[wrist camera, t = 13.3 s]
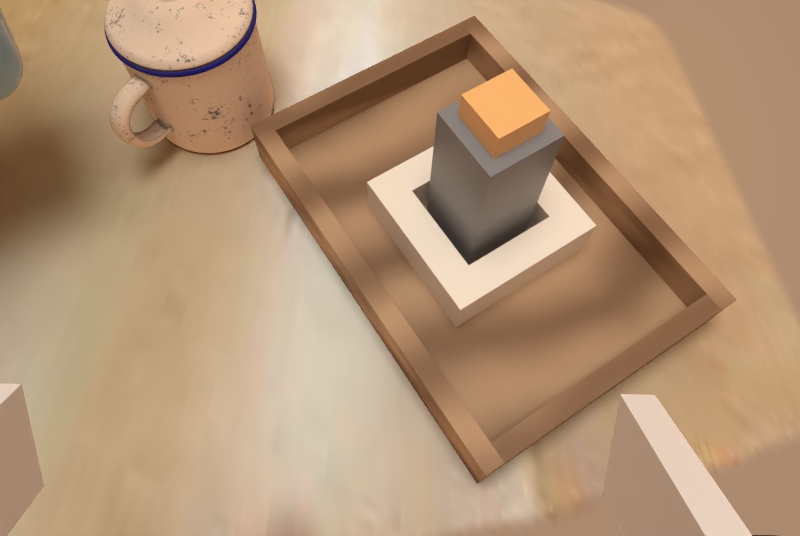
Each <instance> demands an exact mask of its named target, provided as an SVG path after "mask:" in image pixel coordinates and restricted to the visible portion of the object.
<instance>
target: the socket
mask: <svg viewBox="0 0 800 536" xmlns="http://www.w3.org/2000/svg"><path fill="white" fill-rule="evenodd" d="M433 147H434V146H433ZM433 147H431V148H429V149H427V150H425V151H424V152H422V153H420V154H418V155H416V156H414V157H412V158H411V159H409V160H407V161H405V162H403V163H401V164H400V165H398V166H396V167H394V168H392V169H390V170H388V171H387V172H385V173H383V174H381V175H379V176H377V177H375V178H374V179H372V180H370V181H368V182H367V190H368V206H369V208H370V209H371V211H372V212H373V213H374V215H375V216H376V218H377V219H378V220H379V222H380V223H381V224H382V226H383V227H384V229H385V230H386V231H387V233H388V234H389V236H390V237H391V238H392V240H393V241H394V243H395V244H396V245H397V247H398V248H399V250H400V251H401V252H402V254H403V255H404V256H405V258H406V259H407V261H408V262H409V263H410V265H411V266H412V268H413V269H414V270H415V272H416V273H417V275H418V276H419V277H420V279H421V280H422V282H423V283H424V284H425V286H426V287H427V288H428V290H429V291H430V293H431V294H432V295H433V297H434V298H435V300H436V301H437V302H438V304H439V305H440V307H441V308H442V309H443V311H444V312H445V314H446V315H447V316H448V318H449V319H450V320H451V322H452V323H453V325H454V326H455V327H457V326H459V325H460V324H462V323H464V322H465V321H467V320H468V319H470V318H472V317H473V316H475V315H476V314H478V313H480V312H481V311H483V310H484V309H486V308H488V307H489V306H491V305H492V304H494V303H495V302H497V301H499V300H500V299H502V298H503V297H505V296H507V295H508V294H510V293H511V292H513V291H515V290H516V289H518V288H519V287H521V286H523V285H524V284H526V283H527V282H529V281H531V280H532V279H534V278H535V277H537V276H539V275H540V274H542V273H543V272H545V271H547V270H548V269H550V268H551V267H553V266H555V265H556V264H558V263H559V262H561V261H562V260H564V259H566V258H567V257H569V256H570V255H572V254H574V253H575V252H577V251H578V250H580V249H582V248H583V247H584V245H585V243H586V242H587V240H588V239H589V237H590V235H591V234H592V232H593V231H594V229H595V227H596V224H595V223H594V222H593V221H592V220H591V219H590V218H589V216H588V215H587V214H586V213H585V212H584V211H583V210H582V208H581V207H580V206H579V205H578V204H577V203H576V201H575V200H574V199H573V198H572V197H571V196H570V195H569V193H568V192H567V191H566V190H565V189H564V188H563V187H562V185H561V184H560V183H559V182H558V181H557V180H556V179H555V177H554V176H553V175H552V174H551V173H550V172H549V175H548V177H547V180H546V182H545V185H544V187H543V189H542V192H541V194H540V197H539V199H538V202H537V204H536V207H535V209H534V211H533V214H532V216H531V219H530V221H529V224H528V226H529V228H530V229H528V230H527V231H525V232H523V233H522V234H520V235H518V236H517V237H515V238H513V239H512V240H510V241H508V242H507V243H505V244H503V245H502V246H500V247H499V248H497V249H495V250H494V251H492V252H490V253H489V254H487V255H485V256H484V257H482V258H480V259H479V260H477V261H475V262H474V263H472V264H470V265H468V264H467V263H466V261H465V260H464V259H463V257H462V256H461V255H460V253H459V252H458V251H457V249H456V248H455V247H454V245H453V244H452V243H451V241H450V240H449V239H448V238H447V236H446V235H445V234H444V232H443V231H442V230H441V228H440V227H439V226H438V224H437V223H436V222H435V220H434V219H433V218H432V216H431V215H430V214H429V212H428V211H427V210H426V209H425V206H427V205H428V196H429V186H430V176H431V167H432V157H433Z"/></svg>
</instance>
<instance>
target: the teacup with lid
mask: <svg viewBox="0 0 800 536" xmlns="http://www.w3.org/2000/svg"><path fill="white" fill-rule="evenodd" d="M104 25H105V35H106V39H107V42H108V44H109V46H110V48H111V49H112V51H113V52H114V54H115V55H116V56H117V57H118V58H119V59H120V60H121V61H122V62H123V63H124V65H125V67H126V69H127V71H128V72H129V74H130V76H131V78H132V79H131V80H130V81H129V82H127V83H126V84H125V85H124V86H123V88H122V89H121V90H120V91H119V92H118V94H117V95H116V97H115V99H114V101H113V103H112V107H111V111H110V123H111V126H112V128H113V130H114V132H115V133H116V135H117V136H118V137H119V138H121V139H122V140H123V141H125V142H127V143H128V144H130V145H133V146H136V147H150V146H153V145H155V144H157V143H158V142H160V141H161V140H163V139H164V138H165V137H166V138H167V139H168V140H170V141H171V142H172V143H174V144H175V145H177V146H179V147H181V148H183V149H186V150H189V151H193V152H198V153H218V152H224V151H228V150H231V149H234V148H237V147H239V146H241V145H243V144H245V143H247V142H248V141H250V140H251V139H253V138H254V136H253V132H252V129H251V125H253V124H255V123H257V122H259V121H261V120H263V119H265V118H268V117H270V116H271V114H272V111H273V107H274V93H273V88H272V84H271V80H270V76H269V72H268V69H267V65H266V61H265V57H264V53H263V49H262V45H261V41H260V37H259V33H258V29H257V25H256V5H255V1H254V0H109V2H108V4H107V7H106V11H105V17H104ZM141 98H143V100H144V102H145V104H146V106H147V108H148V109H149V111H150V113H151V115H152V117H153V119H154V120H155V122H154V123H153V124H152V125H150V126H149V127H148V128H147V129H145V130H143V131H141V132H137V133H133V132H132V130H131V127H130V117H131V113H132V111H133V109H134V107H135V105H136V104H137V102H138V101H139V100H140V99H141Z"/></svg>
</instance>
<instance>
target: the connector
mask: <svg viewBox="0 0 800 536" xmlns="http://www.w3.org/2000/svg"><path fill="white" fill-rule="evenodd" d="M549 114H550V110H549V108H548V107H547V106H546V105H545V104H544V103H543V102H542V101H541V100H540V99H539V97H538V96H537V95H536V94H535V93H534V92H533V91H532V90H531V89H530V88H529V86H528V85H527V84H526V83H525V82H524V81H523V80H522V79H521V78H520V77H519V75H518V74H517V73H516V72H515V71H514V70H513V69H510V70H508V71H506V72H504V73H502V74H500V75H498V76H496V77H494V78H492V79H491V80H489V81H487V82H485V83H483V84H481V85H479V86H477V87H475V88H473V89H471V90H469V91H467V92H465V93H464V94H462V95H461V100H459V101H457V102H456V103H454V104H452V105H450V106H448V107H446V108H444V109H442V110H440V111H438V112H437V118H436V128H435V138H434V147H433V157H432V167H431V176H430V186H429V196H428V206H427V211H428V212H429V214H430V215H431V216H432V218H433V219H434V220H435V222H436V223H437V224H438V226H439V227H440V228H441V230H442V231H443V232H444V234H445V235H446V236H447V238H448V239H449V240H450V241H451V243H452V244H453V245H454V247H455V248H456V249H457V251H458V252H459V253H460V255H461V256H462V257H463V259H464V260H465V261H466V263H467V264H468V265H470V264H472V263H474V262H475V261H477V260H479V259H480V258H482V257H484V256H485V255H487V254H489V253H490V252H492V251H494V250H495V249H497V248H499V247H500V246H502V245H503V244H505V243H507V242H508V241H510V240H512V239H513V238H515V237H517V236H518V235H520V234H522V233H523V232H525V231H526V228H527V226H528V224H529V221H530V219H531V216H532V214H533V211H534V209H535V207H536V204H537V202H538V199H539V197H540V194H541V192H542V189H543V187H544V185H545V182H546V180H547V177H548V175H549V172H550V170H551V168H552V165H553V163H554V160H555V158H556V155H557V153H558V150H559V148H560V146H561V143H562V141H563V138H564V136H565V135H564V134H563V133H562V132H561V131H560V130H559V129H558V127H557V126H556V125H555V124H554V123H553V122H552V121H551V120H550V119H549V117H548V116H549Z"/></svg>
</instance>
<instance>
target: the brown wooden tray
mask: <svg viewBox="0 0 800 536" xmlns="http://www.w3.org/2000/svg"><path fill="white" fill-rule="evenodd" d="M510 69H513V70H514V71H515V72H516V73H517V74H518V75H519V77H520V78H521V79H522V80H523V81H524V82H525V83H526V84H527V85H528V86H529V88H530V89H531V90H532V91H533V92H534V93H535V94H536V95H537V96H538V97H539V99H540V100H541V101H542V102H543V103H544V104H545V105H546V106H547V107H548V108H549V110H550V114H549V116H548V117H549V119H550V120H551V121H552V122H553V123H554V124H555V125H556V126H557V127H558V129H559V130H560V131H561V132H562V133H563V134H564V135H565V136H564V138H563V141H562V143H561V146H560V148H559V150H558V153H557V155H556V158H555V160H554V163H553V165H552V168H551V170H550V173H551V174H552V175H553V176H554V177H555V179H556V180H557V181H558V182H559V183H560V184H561V185H562V187H563V188H564V189H565V190H566V191H567V192H568V193H569V195H570V196H571V197H572V198H573V199H574V200H575V201H576V203H577V204H578V205H579V206H580V207H581V208H582V210H583V211H584V212H585V213H586V214H587V215H588V216H589V218H590V219H591V220H592V221H593V222H594V223H595V224H596V227H595V229H594V231H593V232H592V234H591V235H590V237H589V239H588V240H587V242H586V243H585V245H584V247H583V248H582V249H580V250H578V251H577V252H575V253H574V254H572V255H570V256H569V257H567V258H566V259H564V260H562V261H561V262H559V263H558V264H556V265H555V266H553V267H551V268H550V269H548V270H547V271H545V272H543V273H542V274H540V275H539V276H537V277H535V278H534V279H532V280H531V281H529V282H527V283H526V284H524V285H523V286H521V287H519V288H518V289H516V290H515V291H513V292H511V293H510V294H508V295H507V296H505V297H503V298H502V299H500V300H499V301H497V302H495V303H494V304H492V305H491V306H489V307H488V308H486V309H484V310H483V311H481V312H480V313H478V314H476V315H475V316H473V317H472V318H470V319H468V320H467V321H465V322H464V323H462V324H460V325H459V326H457V327H455V326H454V325H453V323H452V322H451V320H450V319H449V318H448V316H447V315H446V314H445V312H444V311H443V309H442V308H441V307H440V305H439V304H438V302H437V301H436V300H435V298H434V297H433V295H432V294H431V293H430V291H429V290H428V288H427V287H426V286H425V284H424V283H423V282H422V280H421V279H420V277H419V276H418V275H417V273H416V272H415V270H414V269H413V268H412V266H411V265H410V263H409V262H408V261H407V259H406V258H405V256H404V255H403V254H402V252H401V251H400V250H399V248H398V247H397V245H396V244H395V243H394V241H393V240H392V238H391V237H390V236H389V234H388V233H387V231H386V230H385V229H384V227H383V226H382V224H381V223H380V222H379V220H378V219H377V218H376V216H375V215H374V213H373V212H372V211H371V209H370V208H369V206H368V190H367V182H368V181H370V180H372V179H374V178H375V177H377V176H379V175H381V174H383V173H385V172H387V171H388V170H390V169H392V168H394V167H396V166H398V165H400V164H401V163H403V162H405V161H407V160H409V159H411V158H412V157H414V156H416V155H418V154H420V153H422V152H424V151H425V150H427V149H429V148H431V147H433V146H434V138H435V128H436V118H437V112H438V111H440V110H442V109H444V108H446V107H448V106H450V105H452V104H454V103H456V102H457V101H459V100H461V95H462V94H464V93H465V92H467V91H469V90H471V89H473V88H475V87H477V86H479V85H481V84H483V83H485V82H487V81H489V80H491V79H492V78H494V77H496V76H498V75H500V74H502V73H504V72H506V71H508V70H510ZM251 129H252V132H253V136H254V139H255V142H256V145H257V148H258V151H259V154H260V157H261V158H262V160H263V161H264V163H265V164H266V166H267V167H268V169H269V170H270V172H271V173H272V175H273V176H274V178H275V179H276V181H277V182H278V184H279V185H280V187H281V188H282V190H283V191H284V193H285V194H286V196H287V197H288V199H289V200H290V202H291V203H292V205H293V207H294V208H295V210H296V211H297V213H298V214H299V216H300V217H301V219H302V220H303V222H304V223H305V225H306V226H307V228H308V229H309V231H310V232H311V234H312V235H313V237H314V238H315V240H316V241H317V243H318V244H319V246H320V247H321V249H322V250H323V252H324V253H325V255H326V256H327V258H328V259H329V261H330V262H331V264H332V265H333V267H334V268H335V270H336V271H337V273H338V274H339V276H340V277H341V279H342V280H343V282H344V283H345V285H346V286H347V288H348V289H349V291H350V292H351V294H352V295H353V297H354V298H355V300H356V301H357V303H358V304H359V306H360V307H361V309H362V310H363V312H364V313H365V315H366V316H367V318H368V319H369V321H370V322H371V324H372V325H373V327H374V328H375V330H376V331H377V333H378V334H379V336H380V337H381V339H382V341H383V342H384V344H385V345H386V347H387V348H388V350H389V351H390V353H391V354H392V356H393V357H394V359H395V360H396V362H397V363H398V365H399V366H400V368H401V369H402V371H403V372H404V374H405V375H406V377H407V378H408V380H409V381H410V383H411V384H412V386H413V387H414V389H415V390H416V392H417V393H418V395H419V396H420V398H421V399H422V401H423V402H424V404H425V405H426V407H427V408H428V410H429V411H430V413H431V414H432V416H433V417H434V419H435V420H436V422H437V423H438V425H439V426H440V428H441V429H442V431H443V432H444V434H445V435H446V437H447V438H448V440H449V441H450V443H451V444H452V446H453V447H454V449H455V450H456V452H457V453H458V455H459V456H460V458H461V459H462V461H463V462H464V464H465V465H466V467H467V468H468V470H469V471H470V473H471V475H472V476H473V478H474V479H475V481H476V482H477V483H478V482H480V481H481V480H483V479H484V478H486V477H487V476H488V475H490V474H491V473H493V472H494V471H495V470H497V469H498V468H500V467H501V466H503V465H504V464H505V463H507V462H508V461H510V460H511V459H513V458H514V457H515V456H517V455H518V454H520V453H521V452H522V451H524V450H525V449H527V448H528V447H530V446H531V445H532V444H534V443H535V442H537V441H538V440H540V439H541V438H542V437H544V436H545V435H547V434H548V433H549V432H551V431H552V430H554V429H555V428H557V427H558V426H559V425H561V424H562V423H564V422H565V421H567V420H568V419H569V418H571V417H572V416H574V415H575V414H576V413H578V412H579V411H581V410H582V409H584V408H585V407H586V406H588V405H589V404H591V403H592V402H594V401H595V400H596V399H598V398H599V397H601V396H602V395H603V394H605V393H606V392H608V391H609V390H611V389H612V388H613V387H615V386H616V385H618V384H619V383H621V382H622V381H623V380H625V379H626V378H628V377H629V376H630V375H632V374H633V373H635V372H636V371H638V370H639V369H640V368H642V367H643V366H645V365H646V364H648V363H649V362H650V361H652V360H653V359H655V358H656V357H657V356H659V355H660V354H662V353H663V352H665V351H666V350H667V349H669V348H670V347H672V346H673V345H675V344H676V343H677V342H679V341H680V340H682V339H683V338H684V337H686V336H687V335H689V334H690V333H692V332H693V331H694V330H696V329H697V328H699V327H700V326H702V325H703V324H704V323H706V322H707V321H709V320H710V319H711V318H713V317H714V316H715V315H717V314H718V313H719V312H721V311H722V310H723V309H725V308H726V307H727V306H729V305H730V304H731V303H733V302H734V301H735V300H737V299H736V298H735V297H734V296H733V295H732V294H731V293H730V292H729V291H728V290H727V289H726V288H725V287H724V285H723V284H722V283H721V282H720V281H719V280H718V279H717V278H716V277H715V276H714V275H713V274H712V272H711V271H710V270H709V269H708V268H707V267H706V266H705V265H704V264H703V263H702V262H701V261H700V259H699V258H698V257H697V256H696V255H695V254H694V253H693V252H692V251H691V250H690V249H689V248H688V246H687V245H686V244H685V243H684V242H683V241H682V240H681V239H680V238H679V237H678V236H677V235H676V233H675V232H674V231H673V230H672V229H671V228H670V227H669V226H668V225H667V224H666V223H665V222H664V220H663V219H662V218H661V217H660V216H659V215H658V214H657V213H656V212H655V211H654V210H653V209H652V207H651V206H650V205H649V204H648V203H647V202H646V201H645V200H644V199H643V198H642V197H641V196H640V194H639V193H638V192H637V191H636V190H635V189H634V188H633V187H632V186H631V185H630V184H629V183H628V181H627V180H626V179H625V178H624V177H623V176H622V175H621V174H620V173H619V172H618V171H617V170H616V169H615V167H614V166H613V165H612V164H611V163H610V162H609V161H608V160H607V159H606V158H605V157H604V156H603V154H602V153H601V152H600V151H599V150H598V149H597V148H596V147H595V146H594V145H593V144H592V143H591V141H590V140H589V139H588V138H587V137H586V136H585V135H584V134H583V133H582V132H581V131H580V130H579V128H578V127H577V126H576V125H575V124H574V123H573V122H572V121H571V120H570V119H569V118H568V117H567V115H566V114H565V113H564V112H563V111H562V110H561V109H560V108H559V107H558V106H557V105H556V104H555V102H554V101H553V100H552V99H551V98H550V97H549V96H548V95H547V94H546V93H545V92H544V91H543V89H542V88H541V87H540V86H539V85H538V84H537V83H536V82H535V81H534V80H533V79H532V78H531V76H530V75H529V74H528V73H527V72H526V71H525V70H524V69H523V68H522V67H521V66H520V65H519V63H518V62H517V61H516V60H515V59H514V58H513V57H512V56H511V55H510V54H509V53H508V52H507V51H506V49H505V48H504V47H503V46H502V45H501V44H500V43H499V42H498V41H497V40H496V39H495V38H494V36H493V35H492V34H491V33H490V32H489V31H488V30H487V29H486V28H485V27H484V26H483V25H482V23H481V22H480V21H479V20H478V19H477V18H476V17H475V16H473V17H471V18H469V19H467V20H465V21H463V22H461V23H459V24H457V25H455V26H453V27H451V28H449V29H447V30H445V31H443V32H441V33H439V34H436V35H434V36H432V37H430V38H428V39H426V40H424V41H422V42H420V43H418V44H416V45H414V46H412V47H410V48H408V49H406V50H404V51H402V52H400V53H398V54H396V55H394V56H392V57H390V58H388V59H386V60H384V61H382V62H379V63H377V64H375V65H373V66H371V67H369V68H367V69H365V70H363V71H361V72H359V73H357V74H355V75H353V76H351V77H349V78H347V79H345V80H343V81H341V82H339V83H337V84H335V85H333V86H331V87H329V88H327V89H325V90H322V91H320V92H318V93H316V94H314V95H312V96H310V97H308V98H306V99H304V100H302V101H300V102H298V103H296V104H294V105H292V106H290V107H288V108H286V109H284V110H282V111H280V112H278V113H276V114H274V115H272V116H270V117H268V118H265V119H263V120H261V121H259V122H257V123H255V124H253V125H251ZM427 206H428V205H427ZM427 206H425V209H426V210H427ZM528 229H530V228H529V226H527V228H526V231H527V230H528Z"/></svg>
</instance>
